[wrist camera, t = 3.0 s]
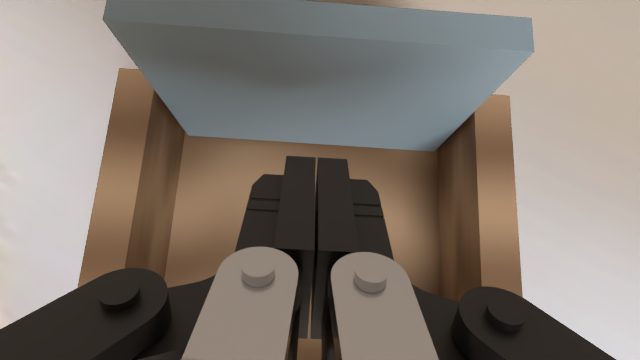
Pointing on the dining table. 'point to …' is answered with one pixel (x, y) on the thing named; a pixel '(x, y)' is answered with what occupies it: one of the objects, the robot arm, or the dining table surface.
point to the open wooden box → (363, 163)
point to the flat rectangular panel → (319, 67)
